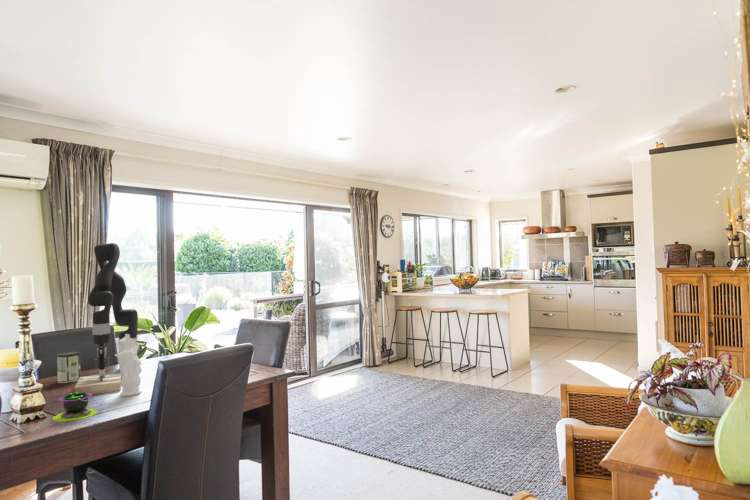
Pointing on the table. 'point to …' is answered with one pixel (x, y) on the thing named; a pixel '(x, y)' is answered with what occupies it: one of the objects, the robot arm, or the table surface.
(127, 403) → the table surface
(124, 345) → the milk
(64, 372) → the grey-green carton
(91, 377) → the dial board
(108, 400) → the table surface
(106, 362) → the lever
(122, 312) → the robot arm
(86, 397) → the toy cauldron
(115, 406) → the table surface
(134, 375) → the cherub figurine
